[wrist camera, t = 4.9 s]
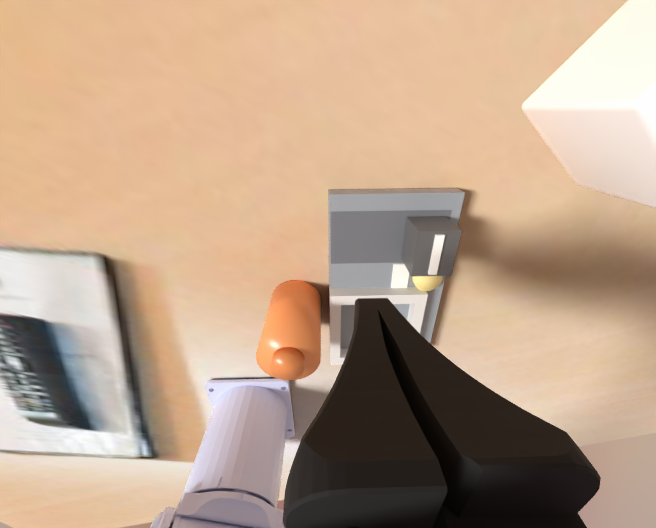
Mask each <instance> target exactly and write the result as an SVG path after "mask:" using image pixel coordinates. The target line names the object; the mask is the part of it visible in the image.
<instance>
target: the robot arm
mask: <svg viewBox="0 0 656 528" xmlns="http://www.w3.org/2000/svg"><path fill="white" fill-rule="evenodd" d="M205 387H206V390H207V393H208V396H209V399H210V402H211V405H212V408H213V412H212V415H211V418H210V421H209V423H208V426H207V429H206V432H205V434H204V437H203V440H202V443H201V445H200V448H199V451H198V454H197V456H196V459H195V462H194V465H193V467H192V470H191V473H190V476H189V478H188V481H187V484H186V487H185V490H184V492H183V495H182V498H181V500H180V502H179V504H178V506H177V508H176V510H175V508H173V507H166V508H165V510H164V512H161V513H160V514H158V515H157V516H156V517H155V518H154V520H153V523H152V525H151V527H150V528H587V527H586V526H585V524H584V522H583V521H582V519H581V518H580V516H579V515H578V511H580V510H581V509H582V508H583V507H584V505H586V504H587V502H588V501H589V500H590V499H591V498H592V497H593V496H594V495H595V494H596V492H597V491H598V489H599V486H600V476H599V474H598V473H597V471H596V470H595V468H594V467H593V466H592V464H591V463H590V462H589V460H588V459H587V458H586V456H585V455H584V454H583V453H582V451H581V450H580V449H579V447H578V446H577V445H576V444H575V442H574V441H573V440H572V439H571V437H570V436H569V435H568V434H567V433H566V432H565V431H563V430H561V429H559V428H557V427H555V426H553V425H551V424H550V423H548V422H546V421H544V420H542V419H540V418H538V417H536V416H534V415H533V414H531V413H529V412H527V411H525V410H523V409H522V408H520V407H518V406H516V405H515V404H513V403H511V402H510V401H508V400H506V399H505V398H503V397H501V396H500V395H498V394H497V393H495V392H493V391H492V390H490V389H489V388H487V387H486V386H484V385H483V384H481V383H480V382H478V381H477V380H475V379H474V378H473V377H471V376H470V375H468V374H467V373H465V372H464V371H463V370H461V369H460V368H459V367H457V366H456V365H455V364H454V363H452V362H451V361H450V360H449V359H447V358H446V357H445V356H444V355H442V354H441V353H440V352H439V351H438V350H437V349H435V348H434V347H433V346H432V345H431V344H430V343H429V342H428V341H427V340H426V339H425V338H424V337H423V336H422V335H421V334H420V333H419V332H418V331H417V330H416V329H415V328H414V327H413V326H412V325H411V324H410V323H409V322H408V321H407V320H406V318H405V317H404V316H403V315H402V314H401V313H400V312H399V311H398V309H397V308H396V307H395V306H394V305H393V304H392V302H391V301H390V300H389V299H388V298H358V299H357V300H355V310H354V329H353V334H352V338H351V341H350V344H349V348H348V351H347V354H346V357H345V359H344V362H343V364H342V367H341V369H340V372H339V374H338V376H337V378H336V381H335V383H334V385H333V387H332V389H331V391H330V393H329V394H328V396H327V398H326V400H325V402H324V404H323V405H322V407H321V409H320V411H319V412H318V414H317V416H316V417H315V419H314V420H313V422H312V423H311V425H310V426H309V428H308V429H307V431H306V433H305V434H304V436H303V437H302V439H301V443H300V445H299V448H298V450H297V453H296V456H295V458H294V461H293V464H292V467H291V470H290V473H289V477H288V480H287V485H286V490H285V498H284V511H283V510H281V509H277V508H276V506H277V502H278V498H279V491H280V482H281V473H282V464H283V455H284V446H285V438H292V437H294V436H295V429H294V420H293V412H292V403H291V395H290V386H289V381H288V380H282V379H237V380H209V381H207V382H206V384H205ZM174 510H175V512H174ZM282 519H283V524H284V526H282Z"/></svg>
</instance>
